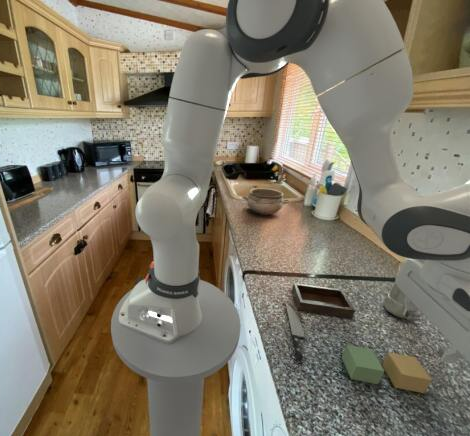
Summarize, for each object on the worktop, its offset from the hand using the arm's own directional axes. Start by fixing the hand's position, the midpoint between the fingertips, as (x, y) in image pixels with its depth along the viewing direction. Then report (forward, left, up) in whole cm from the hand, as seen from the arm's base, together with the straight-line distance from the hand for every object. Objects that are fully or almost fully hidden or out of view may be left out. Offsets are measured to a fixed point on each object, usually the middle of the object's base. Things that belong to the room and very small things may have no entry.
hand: (425, 336), depth 46 cm
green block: (-8, 0, -12) cm, 14 cm away
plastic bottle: (+10, +21, -12) cm, 26 cm away
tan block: (0, 0, -12) cm, 12 cm away
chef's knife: (-19, +8, -12) cm, 24 cm away
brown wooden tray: (-10, +20, -12) cm, 25 cm away
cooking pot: (-19, +91, -12) cm, 94 cm away
